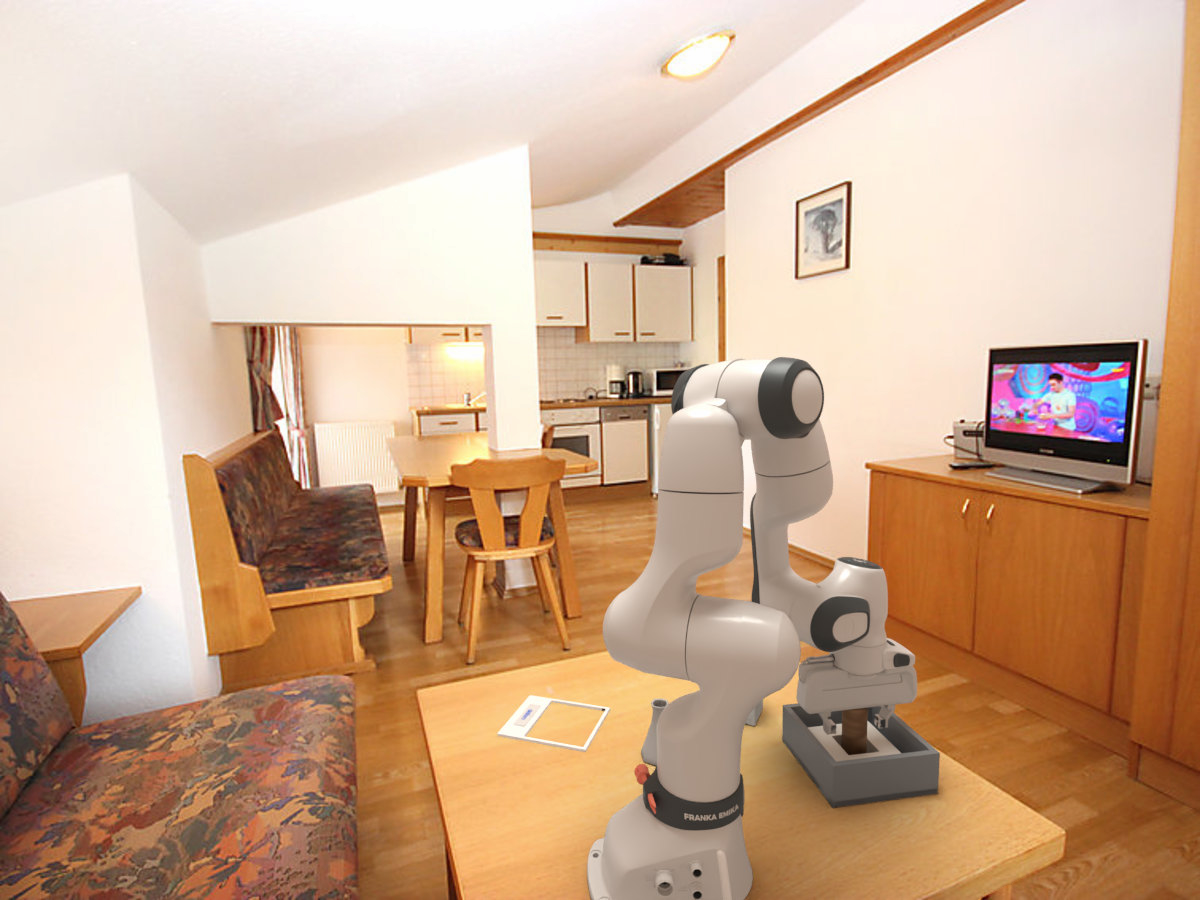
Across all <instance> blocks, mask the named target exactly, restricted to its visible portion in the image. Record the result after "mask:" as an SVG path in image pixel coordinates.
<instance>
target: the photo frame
mask: <svg viewBox="0 0 1200 900" xmlns="http://www.w3.org/2000/svg"><path fill="white" fill-rule="evenodd" d="M551 702H554V703H553V704H557V703H560V704H559V705H564V704H566V705H565V706H570V705H571V706H572V707H576V706H577V708H578V707H579V708H583V709H590V710H597V711H603V710H604V712H603V713H602V715H601V716H600V718H599V720H598V722H597V723H596V724H595V727H594V728H593V730H592V732H591V733H590V735H589V737H588V739H587V740H586V741H585V743H584V745H583V746H580V745H573V744H570V743H569V744H567V743H563V742H557V741H552V740H547V739H542V738H536V737H531V736H530V737H529V736H527V735H528V734H529V733H530V732H531V730H532V729H533V728H534V726H535V725H536V724H537V723H538V721H540V719H539V718H541V717H542V716H543V715H544V714H545V712H546V711H547V709H548V708H549V707H550V706H551V704H552V703H551ZM549 705H550V706H549ZM548 706H549V707H548ZM571 706H570V707H571ZM545 710H546V711H545ZM544 711H545V712H544ZM610 711H611V707H608V706H601V705H595V704H589V703H584V702H577V701H572V700H571V701H570V700H564V699H557V698H551V697H545V696H538V695H531V694H530V695H528V697H526V699H525V700H524V701H523V703H522V704H521V705H520V706H519V707H518V708H517V709H516V710H515V712H514V713H513V714H512V715H511V716H510V718H509V719H508V720H507V722H506V723H505V724H504V725H503V726H502V727H501V729H500V730H499V731H497V733H496V736H497V735H498V736H497V737H500V736H502V737H501V738H506V737H507V739H512V740H517V741H522V740H523V742H527V741H529V742H528V743H533V744H534V743H535V744H540V745H543V746H544V745H545V746H549V747H555V748H560V749H561V748H562V749H567V750H570V751H571V750H572V751H577V752H582V753H586V752H587V750H588V749H589V747H591V746H590V745H591V743H592V742H593V740H594V739H595V737H596V736H597V734H598V732H599V730H600V728H601V727H602V725H603V723H604V721H605V720H606V719H607V716H608V715H609V713H610ZM542 714H543V715H542ZM529 731H530V732H529Z"/></svg>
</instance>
